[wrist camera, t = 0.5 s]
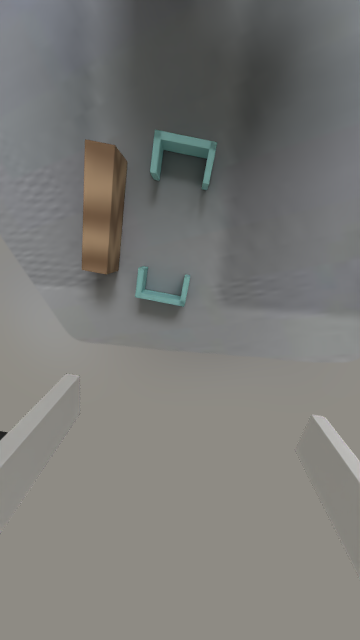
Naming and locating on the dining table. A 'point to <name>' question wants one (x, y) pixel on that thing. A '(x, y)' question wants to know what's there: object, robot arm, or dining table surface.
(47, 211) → the dining table surface
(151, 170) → the pair of teal brackets
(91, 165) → the batten
